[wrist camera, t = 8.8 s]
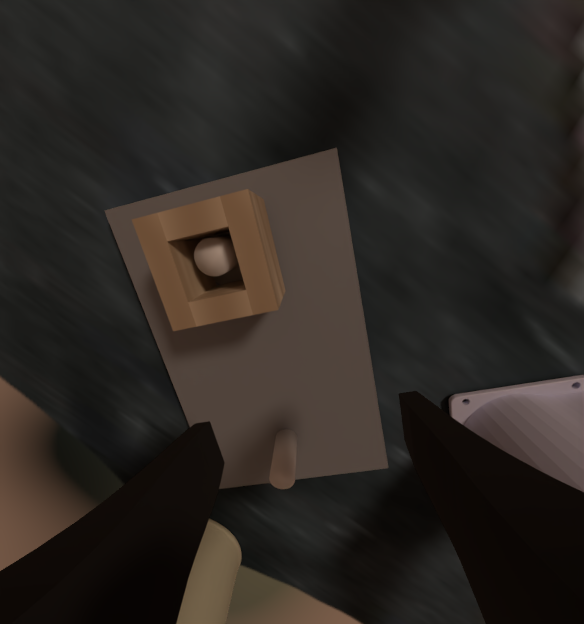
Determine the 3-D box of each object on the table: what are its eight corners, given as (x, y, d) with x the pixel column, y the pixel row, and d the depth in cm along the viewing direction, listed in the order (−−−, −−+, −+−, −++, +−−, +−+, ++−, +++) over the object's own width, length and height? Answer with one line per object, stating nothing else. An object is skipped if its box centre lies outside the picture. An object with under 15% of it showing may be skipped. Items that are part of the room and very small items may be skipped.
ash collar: (263, 199, 15) (247, 188, 11) (285, 290, 16) (278, 309, 12) (175, 221, 15) (131, 219, 12) (204, 308, 17) (173, 331, 13)
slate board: (335, 152, 15) (345, 120, 11) (384, 457, 21) (405, 519, 17) (115, 211, 17) (45, 205, 13) (218, 478, 23) (196, 540, 19)
